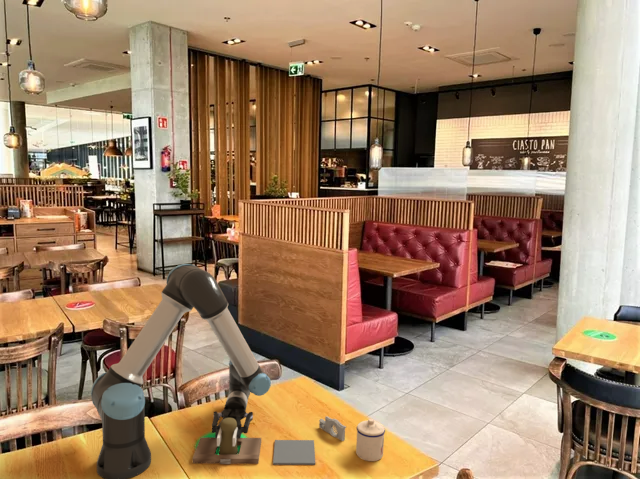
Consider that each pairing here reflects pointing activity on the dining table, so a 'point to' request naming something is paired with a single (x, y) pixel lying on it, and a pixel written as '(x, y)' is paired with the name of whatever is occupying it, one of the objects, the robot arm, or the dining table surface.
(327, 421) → the garden wall model
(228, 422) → the brown tall rounded piece
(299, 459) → the gray mat
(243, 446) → the walnut holder
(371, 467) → the dining table surface
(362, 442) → the teacup with lid
